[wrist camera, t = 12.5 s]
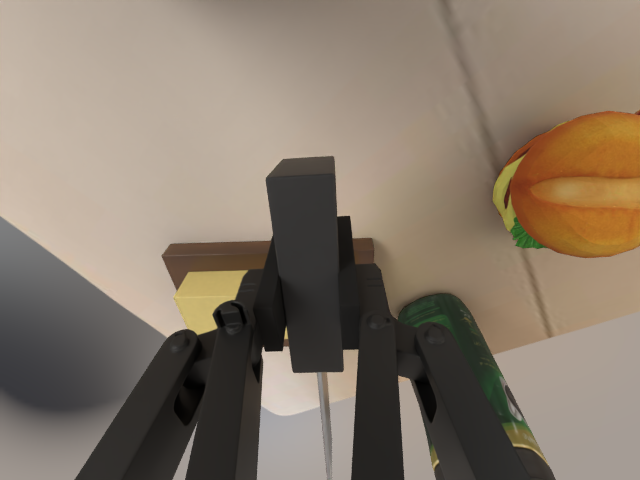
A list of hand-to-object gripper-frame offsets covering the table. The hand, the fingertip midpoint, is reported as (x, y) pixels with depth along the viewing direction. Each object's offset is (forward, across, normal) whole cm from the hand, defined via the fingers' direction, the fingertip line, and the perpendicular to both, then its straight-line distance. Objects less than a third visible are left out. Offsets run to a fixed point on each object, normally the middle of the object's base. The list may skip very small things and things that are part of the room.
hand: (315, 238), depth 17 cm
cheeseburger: (+10, +19, -1) cm, 21 cm away
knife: (-2, 0, -6) cm, 6 cm away
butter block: (+8, -8, -12) cm, 16 cm away
